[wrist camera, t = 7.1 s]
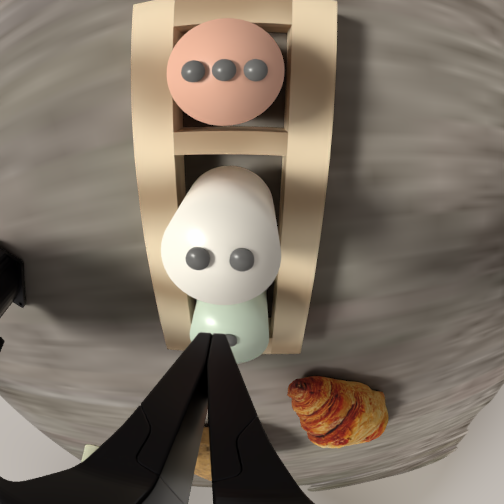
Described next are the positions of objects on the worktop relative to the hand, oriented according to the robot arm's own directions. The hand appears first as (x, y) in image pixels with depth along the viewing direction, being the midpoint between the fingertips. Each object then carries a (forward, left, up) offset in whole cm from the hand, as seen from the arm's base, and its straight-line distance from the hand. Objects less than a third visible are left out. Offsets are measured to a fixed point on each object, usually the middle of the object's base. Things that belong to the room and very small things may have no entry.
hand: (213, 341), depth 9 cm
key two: (+1, 0, -10) cm, 10 cm away
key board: (+1, 0, -12) cm, 12 cm away
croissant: (-17, -22, -13) cm, 30 cm away
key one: (-6, -3, -12) cm, 14 cm away
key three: (+7, +4, -12) cm, 15 cm away
